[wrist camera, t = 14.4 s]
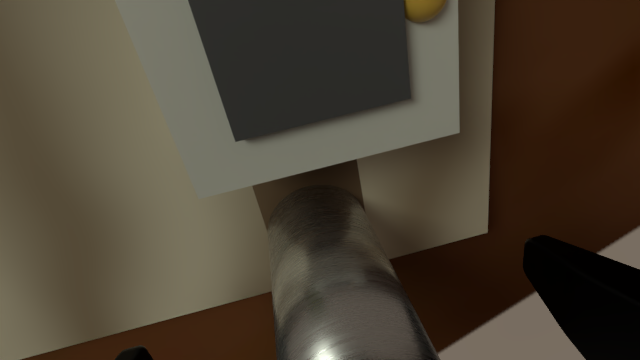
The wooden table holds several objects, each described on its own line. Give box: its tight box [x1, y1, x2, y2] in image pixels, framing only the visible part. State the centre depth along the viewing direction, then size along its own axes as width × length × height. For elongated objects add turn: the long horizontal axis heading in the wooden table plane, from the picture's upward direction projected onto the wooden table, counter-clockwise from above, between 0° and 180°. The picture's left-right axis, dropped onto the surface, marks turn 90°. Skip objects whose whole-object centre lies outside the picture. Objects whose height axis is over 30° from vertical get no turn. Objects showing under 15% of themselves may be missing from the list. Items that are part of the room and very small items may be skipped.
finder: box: [115, 0, 460, 199], centre depth 7 cm, size 5×5×3 cm
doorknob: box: [268, 185, 440, 360], centre depth 8 cm, size 4×4×8 cm
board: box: [0, 0, 495, 360], centre depth 10 cm, size 18×12×2 cm, turn 101°
